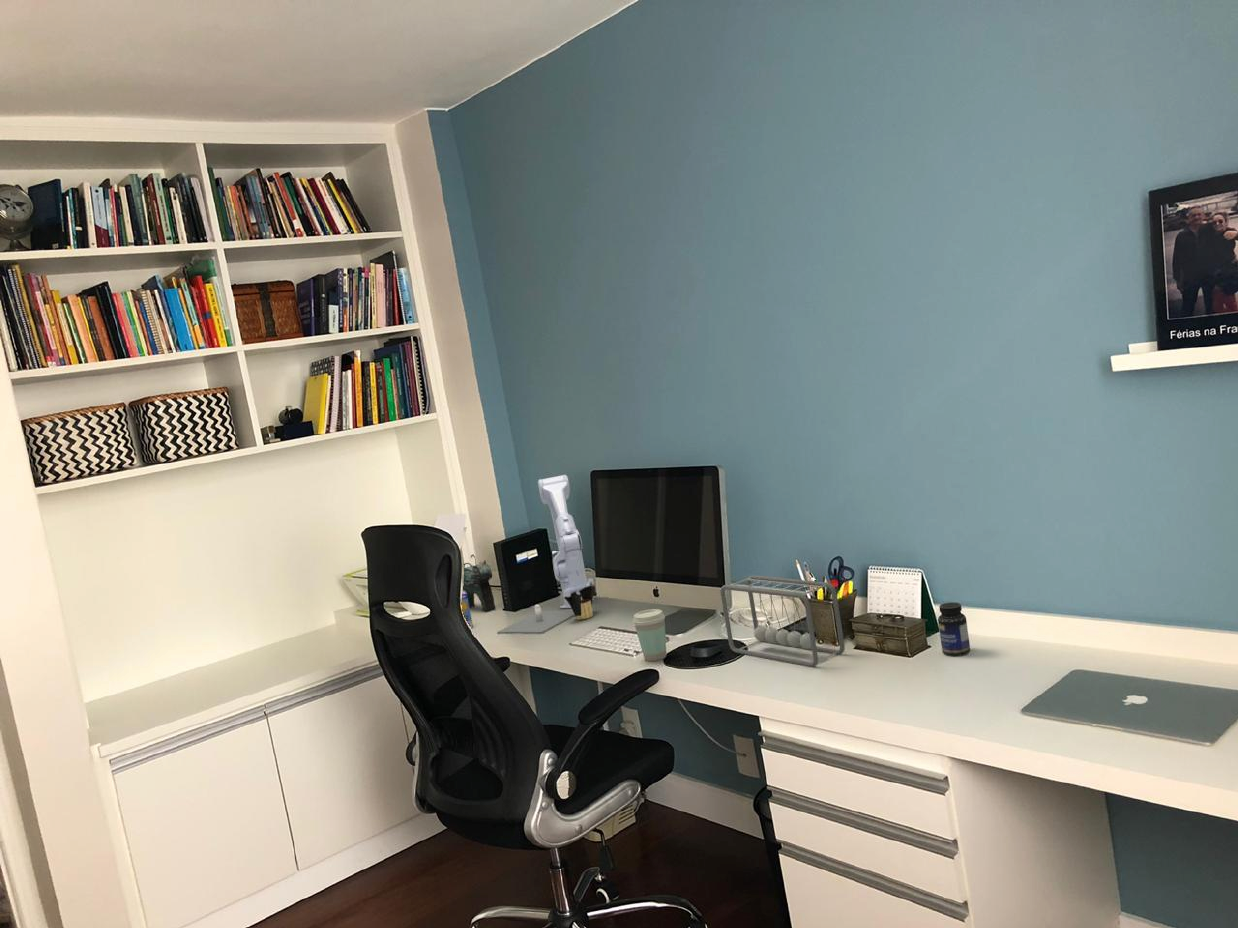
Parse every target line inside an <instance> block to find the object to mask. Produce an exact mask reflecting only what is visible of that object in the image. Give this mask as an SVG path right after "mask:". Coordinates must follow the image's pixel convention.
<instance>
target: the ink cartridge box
mask: <svg viewBox="0 0 1238 928" xmlns="http://www.w3.org/2000/svg"><path fill="white" fill-rule="evenodd" d="M461 605H462V612H463V615H464V618H465V619H466V621H467V623H468V624H469V626H470V627H471V629H474V624H473V620H472V614H471V610H470V609H471V607H470V608H469V602H468V596H467V593H466V591H463V592H462V602H461Z"/></svg>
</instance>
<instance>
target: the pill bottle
mask: <svg viewBox="0 0 1238 928" xmlns="http://www.w3.org/2000/svg"><path fill="white" fill-rule="evenodd" d="M962 610H963V608H962V604H961V603H960V602H954V601H953V602H945V603H942V604H940V605H939V612H940V613H941V614H940V615H938V618H937V622H938V623H937V624H938V631H939V638H940V644H941V652H942V654H943V655H944V656H949V657H960V656H964V655H967V654H969V653H970V652H971V645H970V636H969V630H968V629H969V628H968V623H967V622H968V621H967V616H966V614H964V613H962Z"/></svg>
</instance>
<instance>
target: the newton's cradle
mask: <svg viewBox="0 0 1238 928" xmlns="http://www.w3.org/2000/svg"><path fill="white" fill-rule="evenodd" d="M743 582H746V585H740V584H741V583H743ZM752 582H754V583H752ZM757 583H759V586H758V587H757V586H752V585H754V584H757ZM761 583H766V584H763V585H761ZM738 584H739V585H738ZM769 584H777V585H775V586H770V587H769V588H766V587H763V586H766V585H769ZM780 585H788V586H786V587H782V588H781V589H777V588H776V589H774V588H775V587H776V586H780ZM795 586H801V587H799V588H795ZM789 587H793V588H792V589H793V590H785V589H787V588H789ZM806 587H810V588H814V589H811V590H808V591H806V589H807V588H806ZM801 588H804V591H796V590H799V589H801ZM823 588H828V589H829V590H830V594H831V599H832V607H833V610H834V611H833V613H834V617H835V618H834V619H835V624H836V630H837V637H838V644H839V649H835V648H829V647H822V646H817V643H816V636H815V630H814V622H813V619H812V618H813V617H812V612H811V606H810V601H809V599H808V597H807V595H808V594H810V593H813V592H815V591H818V590H820V589H823ZM726 590H727V591H736V592H745V593H747V594H748V600H749V606H750V610H751V613H750V614H751V618H752V624H753V629H754V632H753V636H754V638H755V639H756V640H757V641H755V642H752V643H750V644H748V645H745V646H742V647H740V648H738V647H736V645H735V644H734V639H733V634H732V628H731V627H732V626H731V622H730V616H729V610H728V604H727V597H726ZM719 591H720V599H721V605H722V611H723V617H724V623H725V629H726V634H727V640H728V645H729V648H730V650H732V651H733V652H734V653H735V654H741V655H745V656H749V657H750V656H751V657H756V658H762V659H767V660H772V661H778V662H783V663H789V664H793V665H799V666H804V667H809V668H814V667H816V666H817V665H818V663H819V662H822V661H824V660H825V659H828V658H830V657H833V656H835V655H838V656H839V655H842V654H844V652H845V649H846V648H845V647H846V646H845V641H844V634H843V628H842V627H843V626H842V621H841V613H840V609H839V607H840V606H839V600H838V596H837V590H836V587H834V585H833V584H832V583H830V582H824V581H816V580H815V581H814V580H806V579H805V580H804V579H794V578H783V577H775V576H762V575H749V576H747V578H745V579H743V580H740V581H738V582H737V581H736V582H734V583H731V584H724V585H722V587H720V590H719ZM754 593H755V594H758V596H759V599H760V601H759V603H760V604H759V605H760V606H759V607H760V608H763V611H764V614H765V618H766V621H767V624H768V628H767V627H765V626H763V625H762V622H760V624H759V621H758V617H757V611H756V606H755V605H756V604H755V599H754ZM762 595H769V597H770V602H771V603H770V607H771V608H770V611H771V615H770V616H771V618H773V610H774V612H775V616H776V619H777V622H778V625H779V626H778V627H779V630H778V629H777V628H776V627H773V626H770V622H769V620H768V617H767V613H766V610H765V606H764V604H763V601H762ZM773 596H777V597H778V596H779V597H781V605H782V607H781V608H782V609H781V611H782V612H781V613H782V616H784V610H785V614H786V616H787V619H788V623H789V626H790V628H791V629H790V630H791V632H790V631H788V630H787V629H784V628H781V625H780V621H779V618H778V614H777V613H776V612H777V611H776V608H775V606H774V601H773V600H772V597H773ZM784 597H787V598H792V600H793V604H794V607H795V608H796V611H797V614H798V618H799V620H800V623H801V624H800V625H801V626H802V629H803V634H801V633H800V632H799V631H796V624H795V621H796V620H795V618H796V617H795V615H793V628H792V625H791V621H790V618H789V615H788V613H787V608H786V605H785V602H784V599H783V598H784ZM795 599H801V600H802V601H803V603H804V608H805V620H806V621H805V622H806V625H807V630H806V631H805V628H804V625H803V622H802V620H801V619H802V618H801V616H800V613H799V610H798V607H797V604H796V601H795ZM793 629H794V630H793ZM761 642H762V643H768V644H774V645H779V646H784V647H791V648H796V649H803V650H807V651H811V653H812V659H813V660H812V661H807V660H801V659H796V658H790V657H786V656H780V655H775V654H769V653H764V652H758V651H753V650H748V649H747V648H749V647H751V646H753V645H756V644H759V643H761ZM745 648H746V649H745ZM818 652H821V653H826V654H829V655H827V656H824V657H822V658H819V656H818Z"/></svg>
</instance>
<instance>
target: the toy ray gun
mask: <svg viewBox="0 0 1238 928" xmlns="http://www.w3.org/2000/svg"><path fill="white" fill-rule="evenodd" d="M472 557H473V558H474V560H475V561H474V562H475V563H474V565H472V563H469V562H465V563H464V564H463V565H464V586H463V591H466V593H467V596H468V602H469V608H470V609H471V608H473V607H472V606H474V607H475V595H476V596H477V598H478V599H479V602H480V603H481V609H482V612H486V613H489V612H492V611H495V610H496V604H495V598H494V597H495V596H494V594H493V591H492V587H491V584H490V580H491V579H492V578H493V572H492V568H491V566H490V565H489V564H488V563H487V561H486V560H483V562H482V561H481V560H480V561H479V563H478V564H477V560H476V556H475V555H474V554H471V555H470V559H472ZM466 565H469V566H466ZM465 566H466V567H465Z"/></svg>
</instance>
